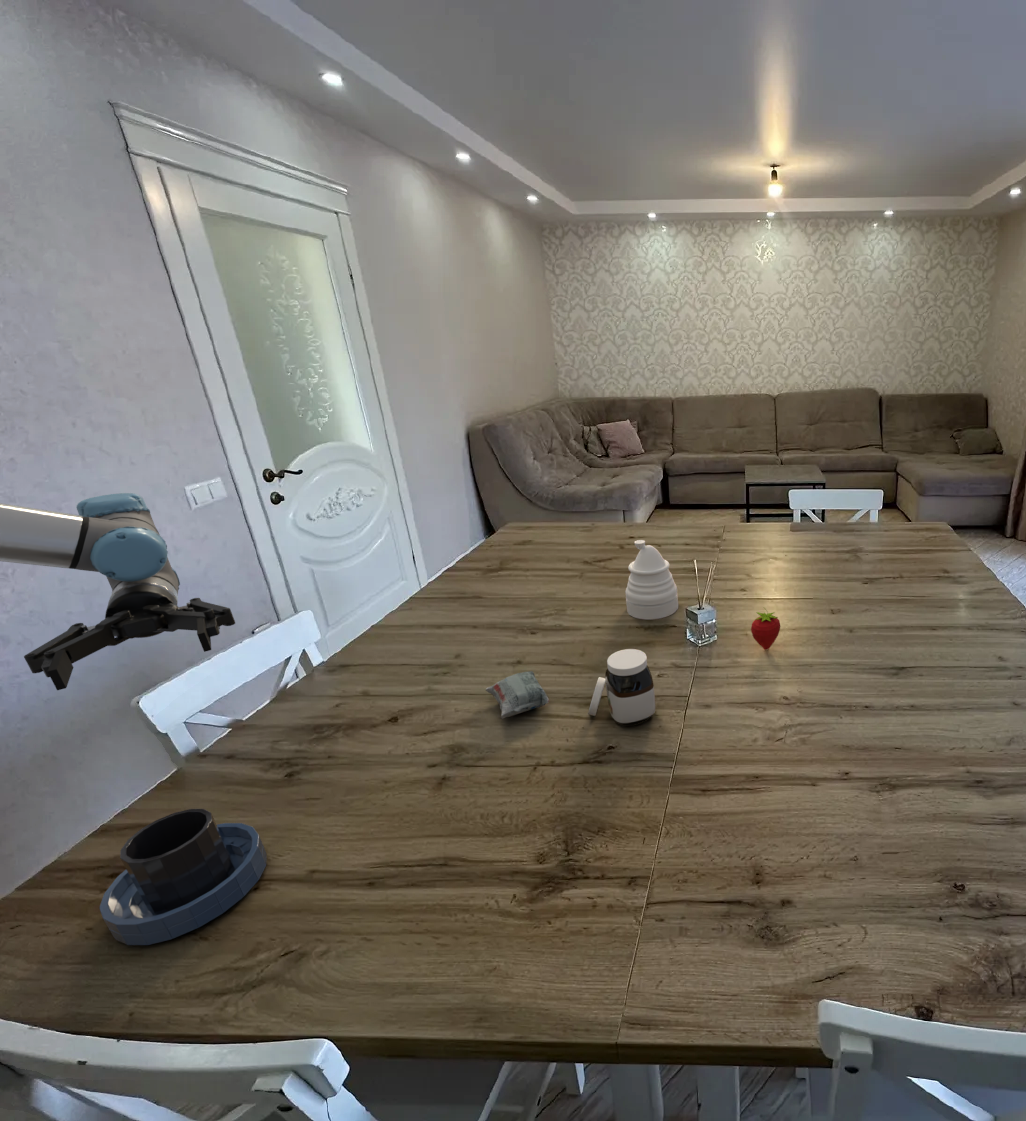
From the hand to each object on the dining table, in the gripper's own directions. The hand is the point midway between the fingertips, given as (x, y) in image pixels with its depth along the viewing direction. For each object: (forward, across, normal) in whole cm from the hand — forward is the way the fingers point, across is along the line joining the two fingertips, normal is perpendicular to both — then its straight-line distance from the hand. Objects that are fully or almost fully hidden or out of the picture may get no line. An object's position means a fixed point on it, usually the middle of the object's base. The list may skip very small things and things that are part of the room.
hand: (134, 660), depth 75 cm
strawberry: (+21, -93, -26) cm, 98 cm away
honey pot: (-14, -86, -26) cm, 91 cm away
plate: (+16, +1, -26) cm, 30 cm away
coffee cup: (+16, +1, -25) cm, 30 cm away
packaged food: (+4, -44, -26) cm, 52 cm away
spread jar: (+20, -57, -26) cm, 66 cm away
